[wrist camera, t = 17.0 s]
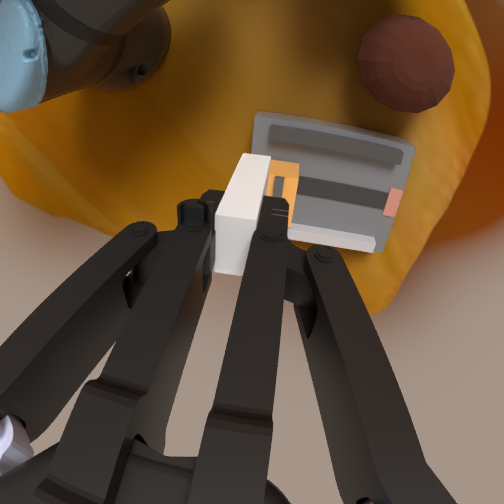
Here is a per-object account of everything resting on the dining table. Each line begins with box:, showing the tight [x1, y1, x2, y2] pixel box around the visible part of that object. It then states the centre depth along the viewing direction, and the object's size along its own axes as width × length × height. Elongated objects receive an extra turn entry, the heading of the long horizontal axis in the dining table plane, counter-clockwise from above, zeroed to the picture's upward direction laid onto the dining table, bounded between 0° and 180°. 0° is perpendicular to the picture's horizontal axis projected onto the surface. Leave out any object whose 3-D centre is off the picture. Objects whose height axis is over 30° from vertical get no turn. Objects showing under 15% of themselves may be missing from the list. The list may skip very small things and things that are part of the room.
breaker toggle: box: [266, 160, 299, 227], centre depth 36 cm, size 4×6×6 cm, turn 175°
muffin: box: [358, 14, 455, 113], centre depth 27 cm, size 12×11×10 cm
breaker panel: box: [251, 111, 416, 253], centre depth 39 cm, size 20×16×6 cm
